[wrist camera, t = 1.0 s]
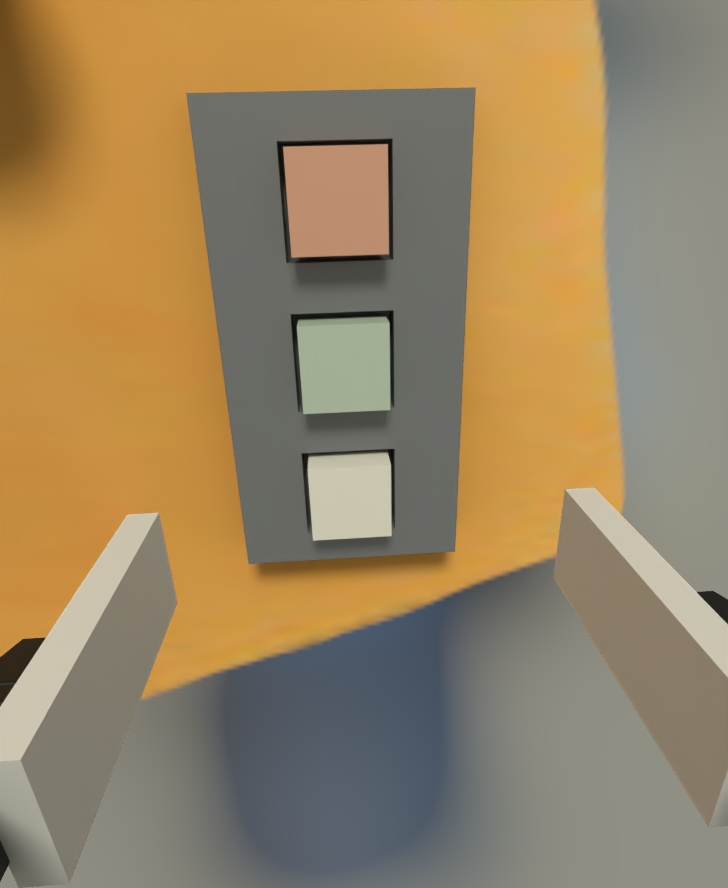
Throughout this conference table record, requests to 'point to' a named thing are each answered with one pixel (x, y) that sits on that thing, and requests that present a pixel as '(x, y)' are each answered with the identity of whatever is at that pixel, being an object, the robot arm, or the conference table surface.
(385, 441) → the button board
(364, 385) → the sage button
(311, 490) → the cream button
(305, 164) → the terracotta button
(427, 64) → the conference table surface
